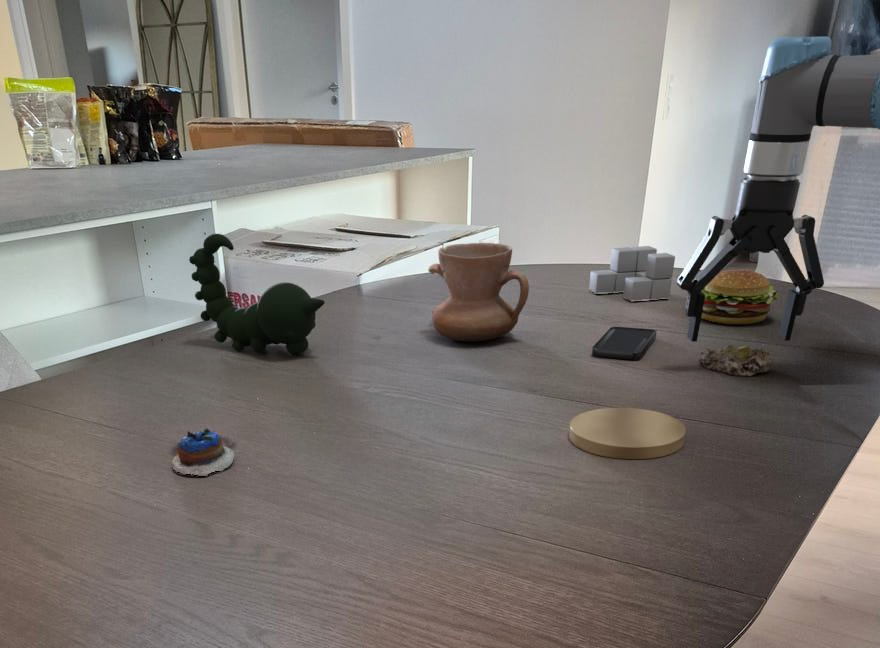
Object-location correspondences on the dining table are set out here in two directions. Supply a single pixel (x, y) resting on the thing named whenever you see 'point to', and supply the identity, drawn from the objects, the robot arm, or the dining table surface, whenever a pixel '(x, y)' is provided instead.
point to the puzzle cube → (636, 273)
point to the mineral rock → (737, 360)
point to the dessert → (202, 453)
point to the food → (738, 297)
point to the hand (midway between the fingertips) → (737, 338)
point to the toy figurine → (254, 307)
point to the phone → (624, 343)
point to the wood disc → (627, 433)
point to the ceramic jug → (476, 292)
